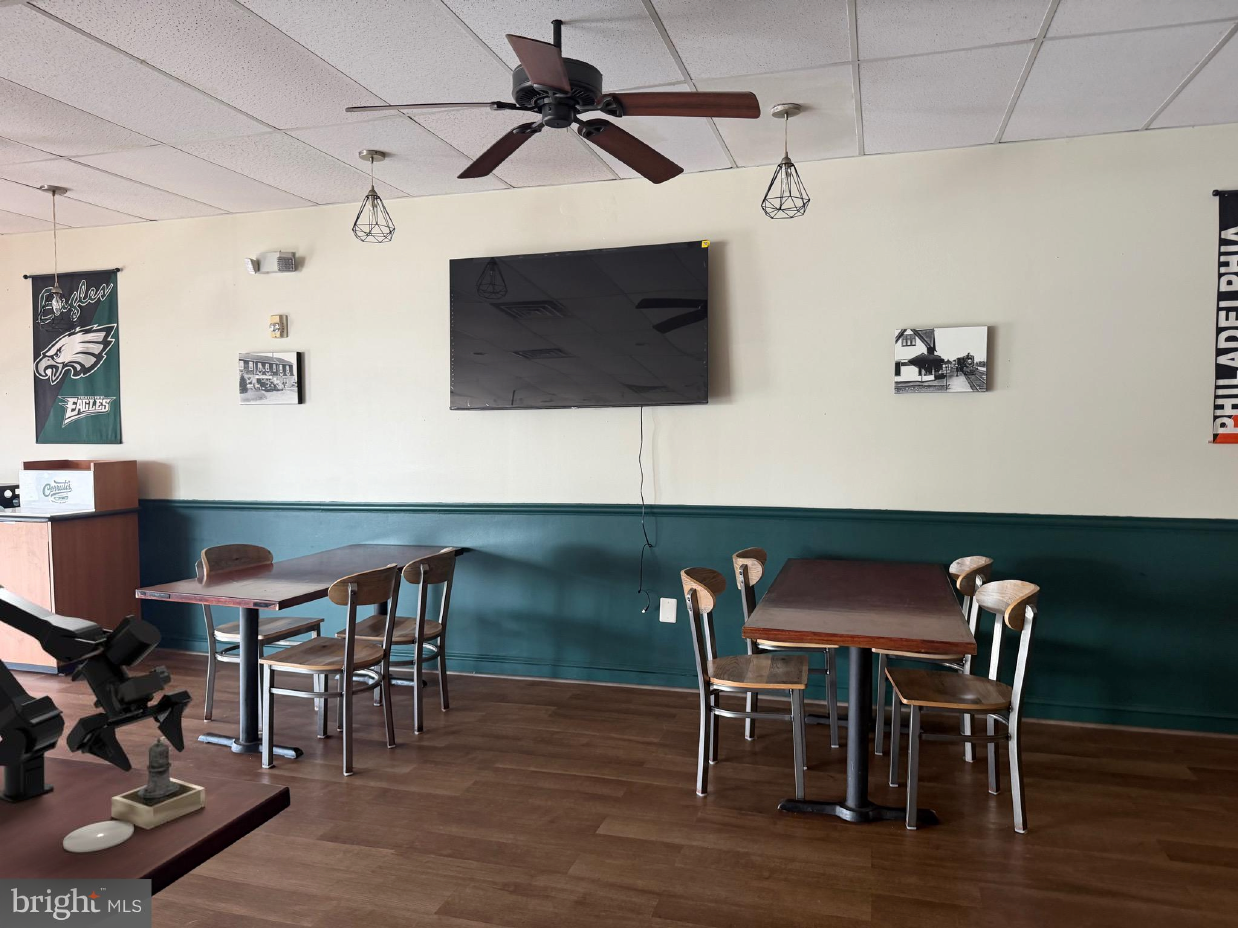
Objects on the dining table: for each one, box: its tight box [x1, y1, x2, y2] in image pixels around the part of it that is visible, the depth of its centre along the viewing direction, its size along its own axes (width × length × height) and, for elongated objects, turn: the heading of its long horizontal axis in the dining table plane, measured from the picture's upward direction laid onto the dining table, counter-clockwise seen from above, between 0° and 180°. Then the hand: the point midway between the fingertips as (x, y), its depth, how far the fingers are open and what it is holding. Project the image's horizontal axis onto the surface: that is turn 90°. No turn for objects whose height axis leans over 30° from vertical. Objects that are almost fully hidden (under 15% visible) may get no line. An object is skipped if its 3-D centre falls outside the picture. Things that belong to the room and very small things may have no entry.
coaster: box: [62, 820, 135, 853], centre depth 123 cm, size 9×9×1 cm
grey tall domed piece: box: [138, 737, 179, 807], centre depth 133 cm, size 6×6×12 cm
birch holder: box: [110, 777, 206, 830], centre depth 133 cm, size 10×10×3 cm
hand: (156, 759), depth 133 cm, fingers open, 9 cm apart
